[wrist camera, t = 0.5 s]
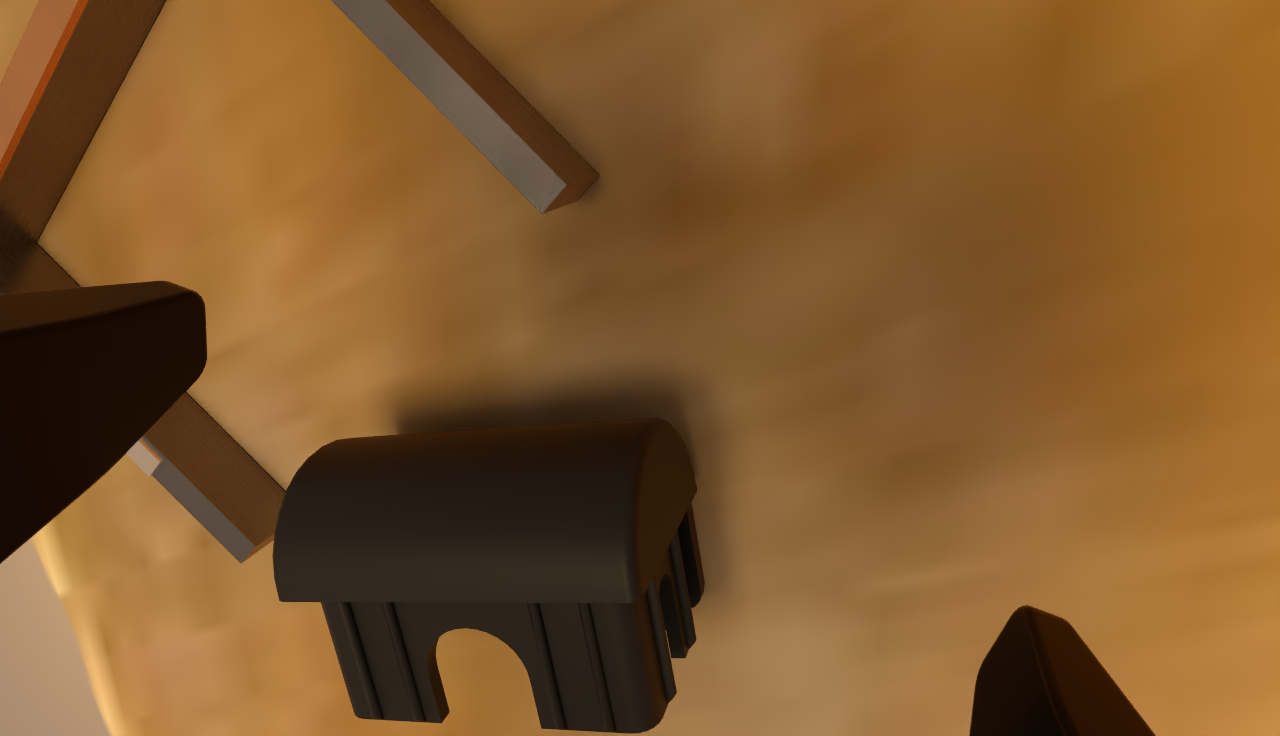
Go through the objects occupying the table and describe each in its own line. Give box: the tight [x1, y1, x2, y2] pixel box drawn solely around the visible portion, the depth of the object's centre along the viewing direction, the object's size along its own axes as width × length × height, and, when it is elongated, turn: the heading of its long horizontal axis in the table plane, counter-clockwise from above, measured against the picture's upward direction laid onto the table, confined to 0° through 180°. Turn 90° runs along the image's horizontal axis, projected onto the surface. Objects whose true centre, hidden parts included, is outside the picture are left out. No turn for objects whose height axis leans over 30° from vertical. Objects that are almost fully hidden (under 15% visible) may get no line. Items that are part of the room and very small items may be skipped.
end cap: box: [273, 418, 705, 733], centre depth 24 cm, size 10×7×7 cm
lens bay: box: [0, 0, 599, 563], centre depth 25 cm, size 17×14×3 cm
